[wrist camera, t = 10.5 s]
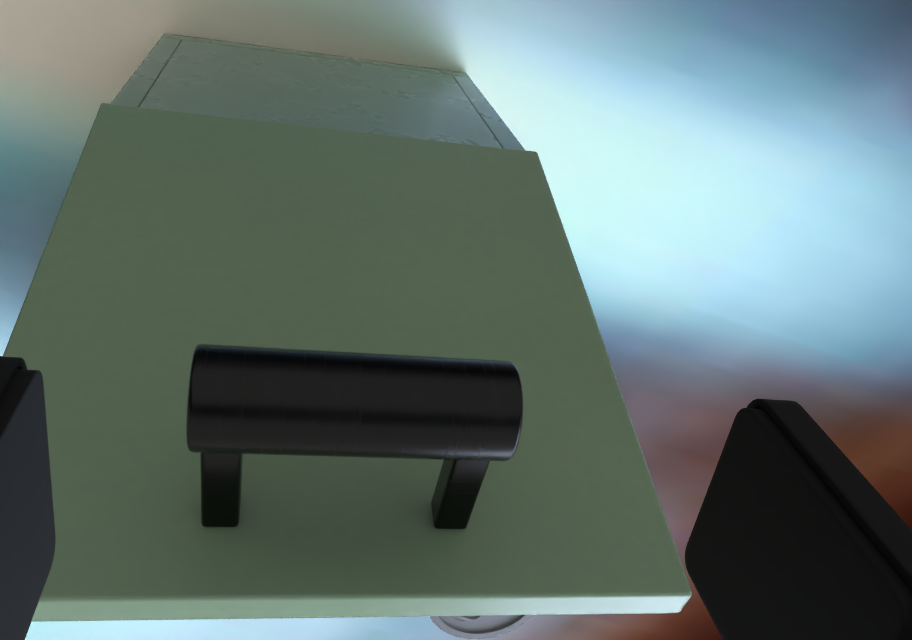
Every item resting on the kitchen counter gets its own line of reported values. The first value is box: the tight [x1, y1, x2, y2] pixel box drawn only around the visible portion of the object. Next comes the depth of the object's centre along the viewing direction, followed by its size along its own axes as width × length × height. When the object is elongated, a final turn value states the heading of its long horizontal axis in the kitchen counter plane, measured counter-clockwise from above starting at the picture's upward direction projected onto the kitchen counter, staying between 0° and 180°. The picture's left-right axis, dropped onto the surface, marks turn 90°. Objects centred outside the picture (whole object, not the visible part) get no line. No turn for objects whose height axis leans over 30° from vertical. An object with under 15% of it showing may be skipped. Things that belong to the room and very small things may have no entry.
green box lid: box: [3, 103, 691, 622], centre depth 20 cm, size 17×14×5 cm
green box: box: [111, 34, 526, 151], centre depth 38 cm, size 16×14×13 cm
